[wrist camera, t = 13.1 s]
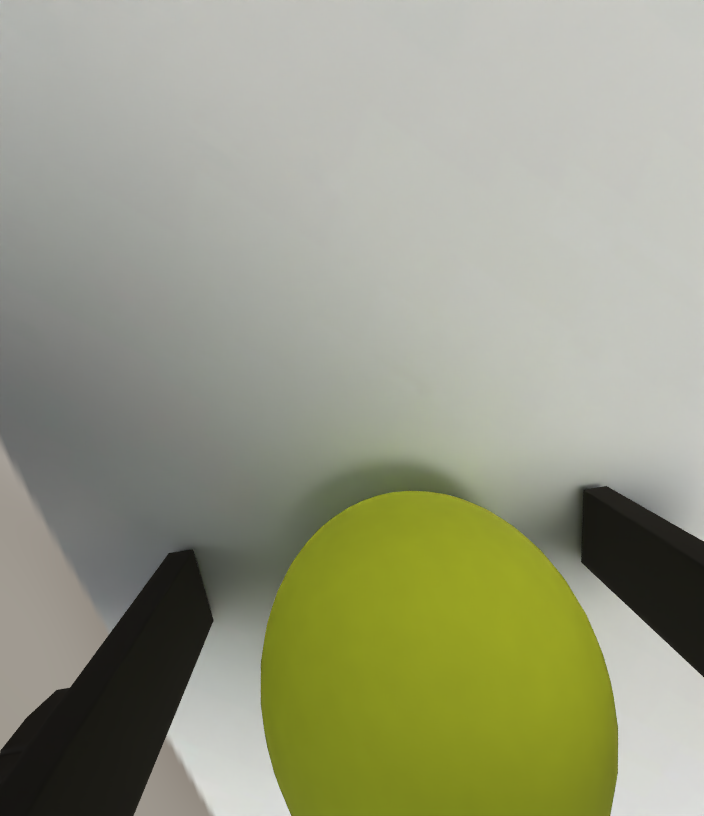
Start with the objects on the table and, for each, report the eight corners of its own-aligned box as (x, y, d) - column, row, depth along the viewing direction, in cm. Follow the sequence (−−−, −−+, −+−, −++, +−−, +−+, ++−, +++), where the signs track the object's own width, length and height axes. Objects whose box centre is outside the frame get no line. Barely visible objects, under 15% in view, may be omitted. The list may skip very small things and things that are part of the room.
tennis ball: (305, 651, 12) (267, 1100, 5) (266, 467, 10) (127, 759, 3) (500, 619, 12) (727, 1012, 5) (493, 434, 10) (816, 643, 3)
